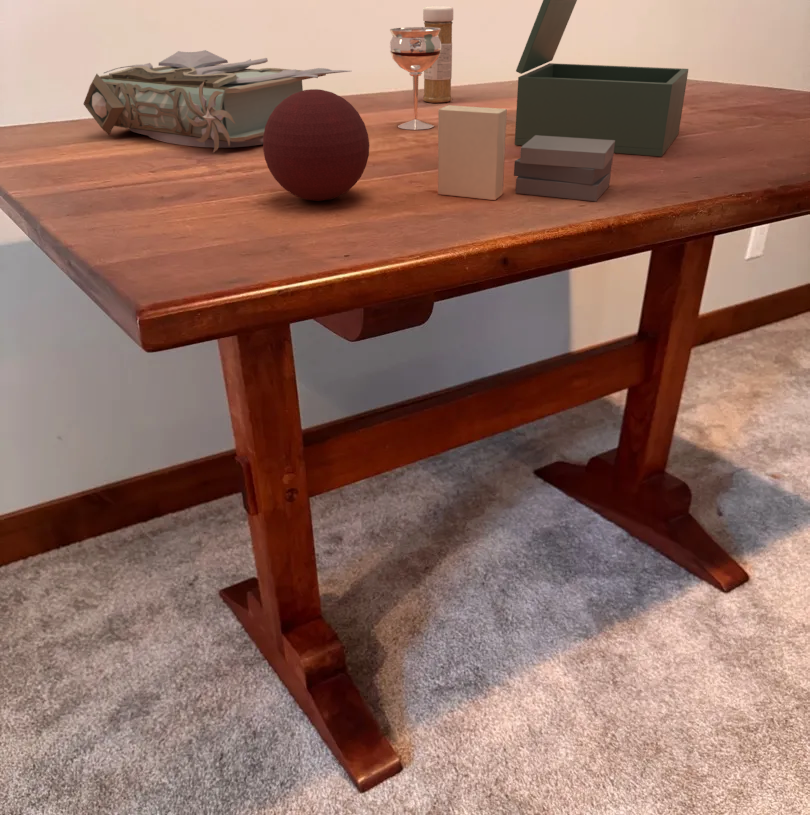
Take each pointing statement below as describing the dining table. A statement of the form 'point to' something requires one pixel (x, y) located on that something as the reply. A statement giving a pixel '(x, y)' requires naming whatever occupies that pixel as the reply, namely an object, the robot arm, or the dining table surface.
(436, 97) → the sprinkles bottle
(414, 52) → the wineglass
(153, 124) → the ornate book
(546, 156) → the grey books
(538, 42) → the lid
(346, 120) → the decorative ball
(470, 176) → the cream book
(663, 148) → the chest
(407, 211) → the dining table surface
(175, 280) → the dining table surface
